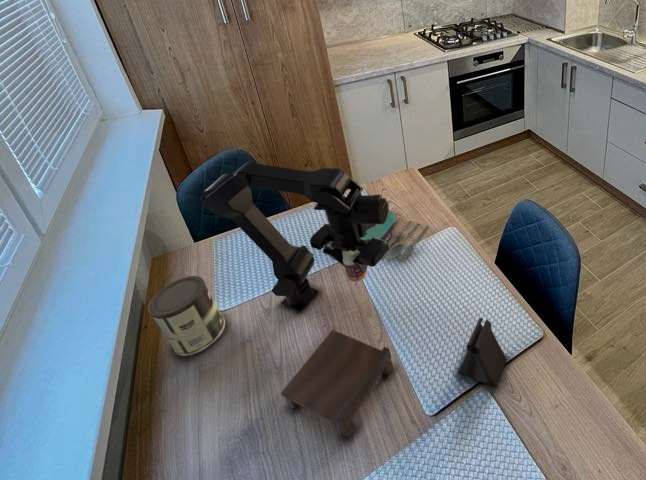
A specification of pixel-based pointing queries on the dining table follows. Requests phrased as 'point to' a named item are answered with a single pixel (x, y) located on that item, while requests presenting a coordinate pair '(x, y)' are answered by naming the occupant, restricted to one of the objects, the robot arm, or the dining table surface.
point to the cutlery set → (384, 229)
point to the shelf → (338, 379)
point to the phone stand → (483, 356)
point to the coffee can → (187, 315)
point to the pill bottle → (352, 267)
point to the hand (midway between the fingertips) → (356, 269)
